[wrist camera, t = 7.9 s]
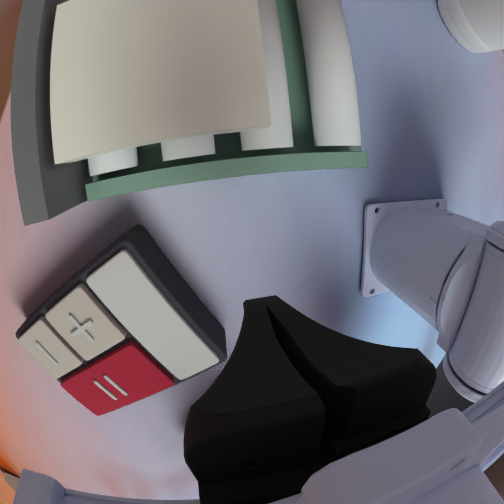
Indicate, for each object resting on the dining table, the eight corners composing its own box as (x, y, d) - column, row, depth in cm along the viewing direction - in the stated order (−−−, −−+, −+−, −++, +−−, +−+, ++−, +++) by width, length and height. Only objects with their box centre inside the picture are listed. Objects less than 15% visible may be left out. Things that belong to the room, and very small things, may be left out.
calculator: (9, 339, 16) (122, 240, 15) (30, 313, 20) (140, 220, 19) (97, 422, 20) (230, 366, 19) (107, 391, 24) (227, 330, 23)
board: (245, -11, 11) (252, -33, 8) (260, 130, 14) (271, 126, 12) (72, 20, 9) (57, 5, 7) (75, 161, 13) (54, 164, 10)
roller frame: (335, 0, 15) (384, -41, 8) (356, 165, 20) (422, 176, 13) (71, 24, 12) (27, -15, 5) (80, 200, 17) (25, 227, 10)
